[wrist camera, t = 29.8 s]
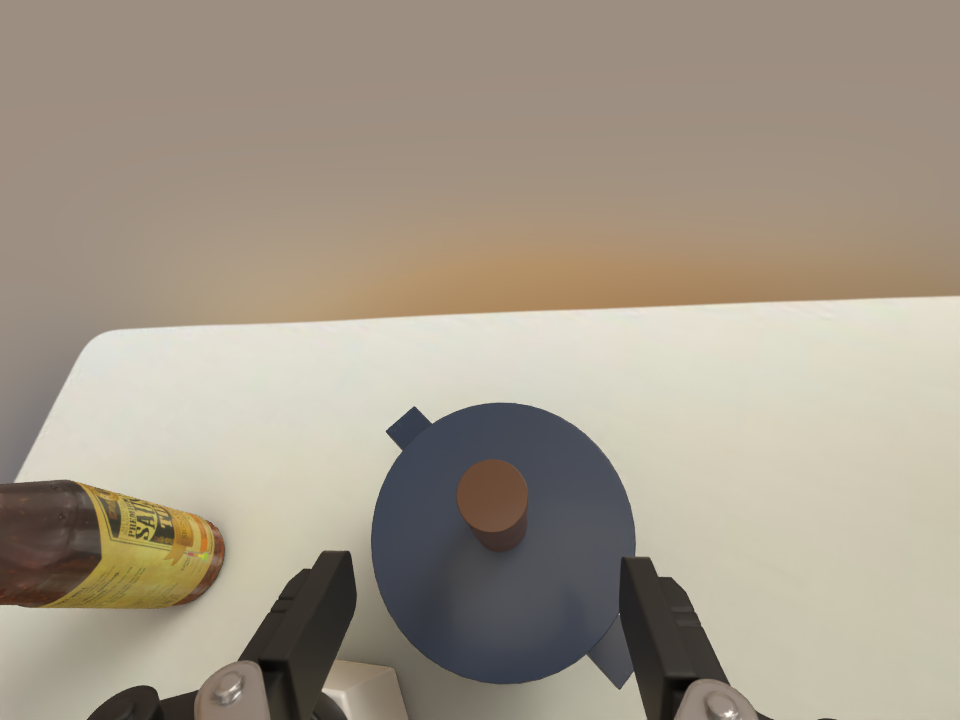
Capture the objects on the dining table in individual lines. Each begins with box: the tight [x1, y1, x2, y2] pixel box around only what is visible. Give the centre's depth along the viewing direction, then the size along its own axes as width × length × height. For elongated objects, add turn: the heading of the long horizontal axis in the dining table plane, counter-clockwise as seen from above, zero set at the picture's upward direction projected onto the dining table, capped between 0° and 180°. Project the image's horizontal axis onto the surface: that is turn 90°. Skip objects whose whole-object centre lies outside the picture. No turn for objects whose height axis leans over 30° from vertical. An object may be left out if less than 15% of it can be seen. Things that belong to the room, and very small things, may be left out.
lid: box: [371, 403, 636, 684], centre depth 21 cm, size 14×14×8 cm
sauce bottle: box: [0, 480, 225, 609], centre depth 25 cm, size 6×6×20 cm
